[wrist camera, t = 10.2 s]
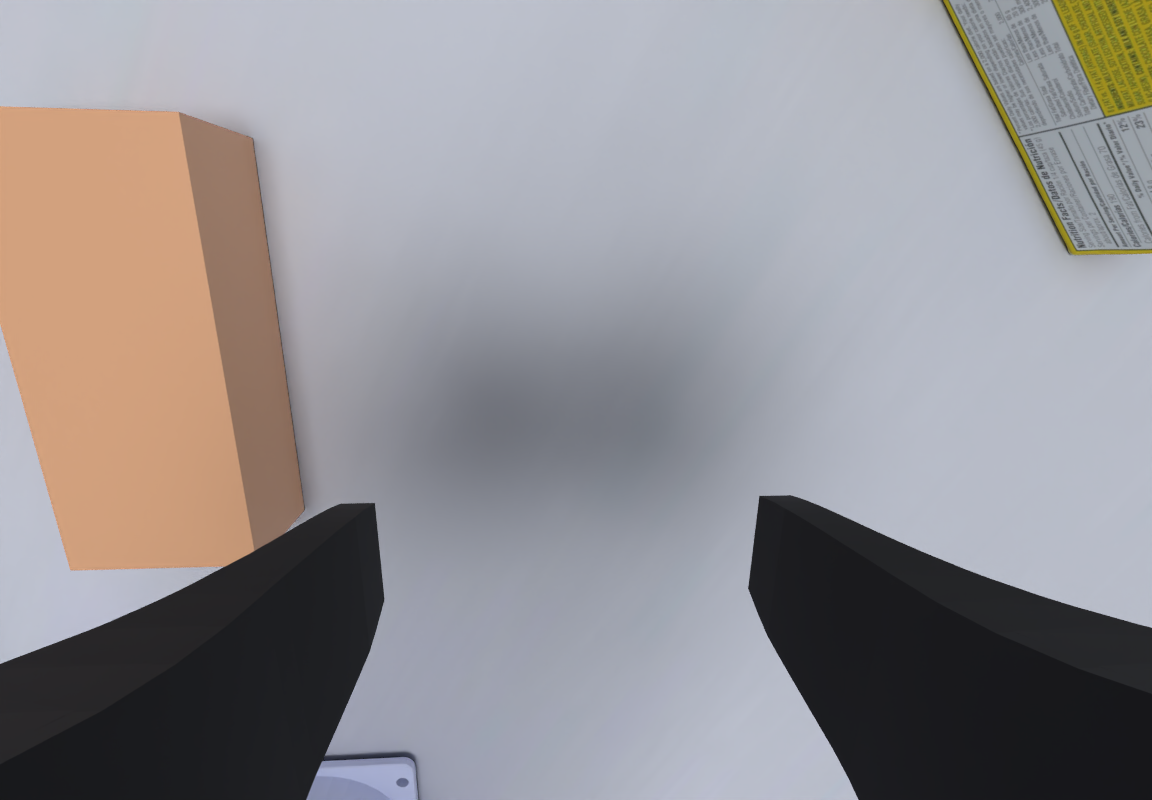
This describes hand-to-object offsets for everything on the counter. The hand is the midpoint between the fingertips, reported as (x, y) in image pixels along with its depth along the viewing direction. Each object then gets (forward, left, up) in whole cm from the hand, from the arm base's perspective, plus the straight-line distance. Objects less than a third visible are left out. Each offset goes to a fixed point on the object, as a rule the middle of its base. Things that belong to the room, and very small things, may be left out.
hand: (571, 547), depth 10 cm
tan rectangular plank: (+2, +12, -10) cm, 16 cm away
